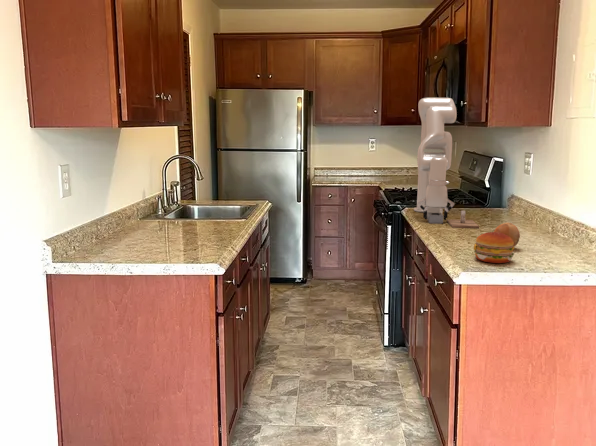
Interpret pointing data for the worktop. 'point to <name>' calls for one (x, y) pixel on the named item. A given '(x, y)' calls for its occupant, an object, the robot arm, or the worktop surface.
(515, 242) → the onion
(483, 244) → the burger
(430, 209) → the supplement box
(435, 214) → the link
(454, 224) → the keeper
